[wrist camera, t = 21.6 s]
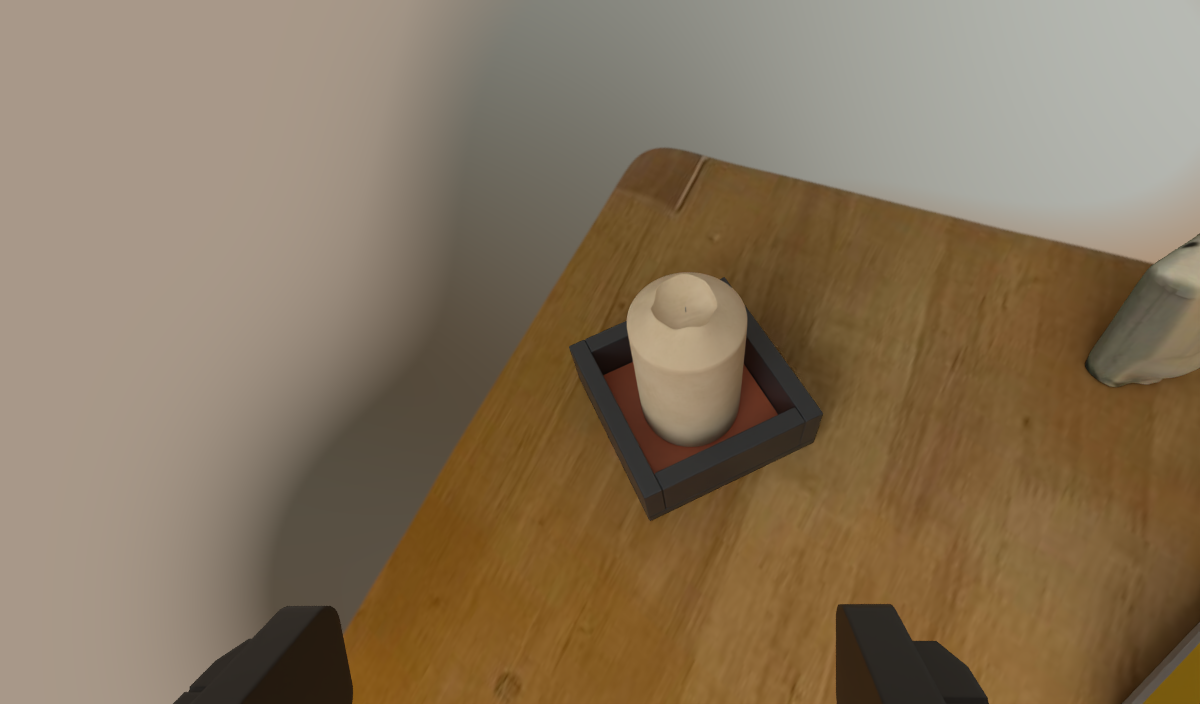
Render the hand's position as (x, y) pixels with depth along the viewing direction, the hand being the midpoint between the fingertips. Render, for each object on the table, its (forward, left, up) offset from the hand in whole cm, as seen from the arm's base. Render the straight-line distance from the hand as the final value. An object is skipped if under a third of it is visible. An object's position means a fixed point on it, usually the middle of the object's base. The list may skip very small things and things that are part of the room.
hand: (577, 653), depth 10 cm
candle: (+8, +13, -22) cm, 27 cm away
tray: (+9, +13, -23) cm, 28 cm away
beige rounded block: (+32, +5, -23) cm, 39 cm away
